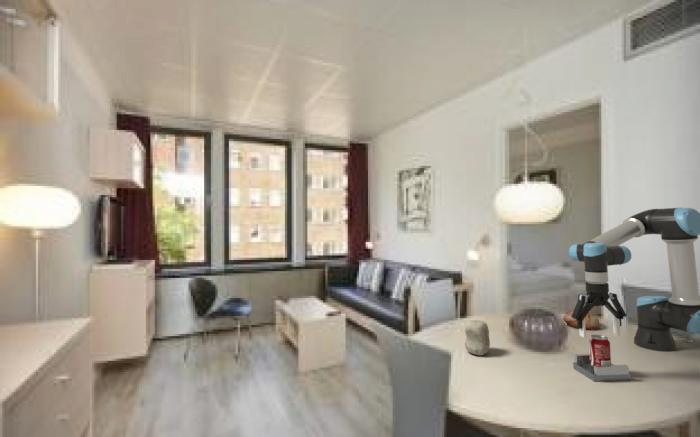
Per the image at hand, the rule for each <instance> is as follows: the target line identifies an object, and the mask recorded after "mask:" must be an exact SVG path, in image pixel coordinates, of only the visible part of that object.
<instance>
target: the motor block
mask: <svg viewBox="0 0 700 437" xmlns="http://www.w3.org/2000/svg"><path fill="white" fill-rule="evenodd" d="M572 364H573V369H574V370H575V371H577V372H579V373H580V374H581V375H583V376H584V377H586V378H587V379H589V380H591V381H592V382H613V381H614V382H615V381H616V382H617V381H619V380H620V381H631V372H629V365H627V364H613V363H612V362H611V365H601V366H594V367H593V366H591V365H590V353H580V354H579V353H578V354H576V353H575V354H574V362H573V363H572Z"/></svg>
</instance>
